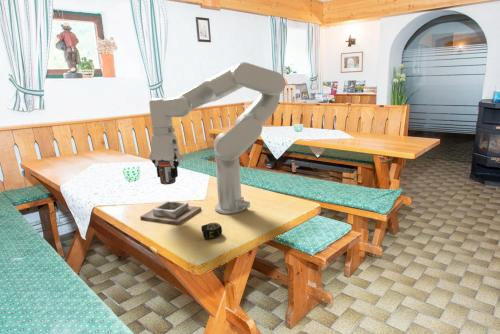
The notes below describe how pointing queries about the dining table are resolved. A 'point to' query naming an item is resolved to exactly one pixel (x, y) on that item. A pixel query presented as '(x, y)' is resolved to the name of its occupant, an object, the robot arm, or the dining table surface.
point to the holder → (171, 213)
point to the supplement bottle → (165, 172)
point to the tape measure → (211, 230)
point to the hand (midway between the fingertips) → (167, 176)
